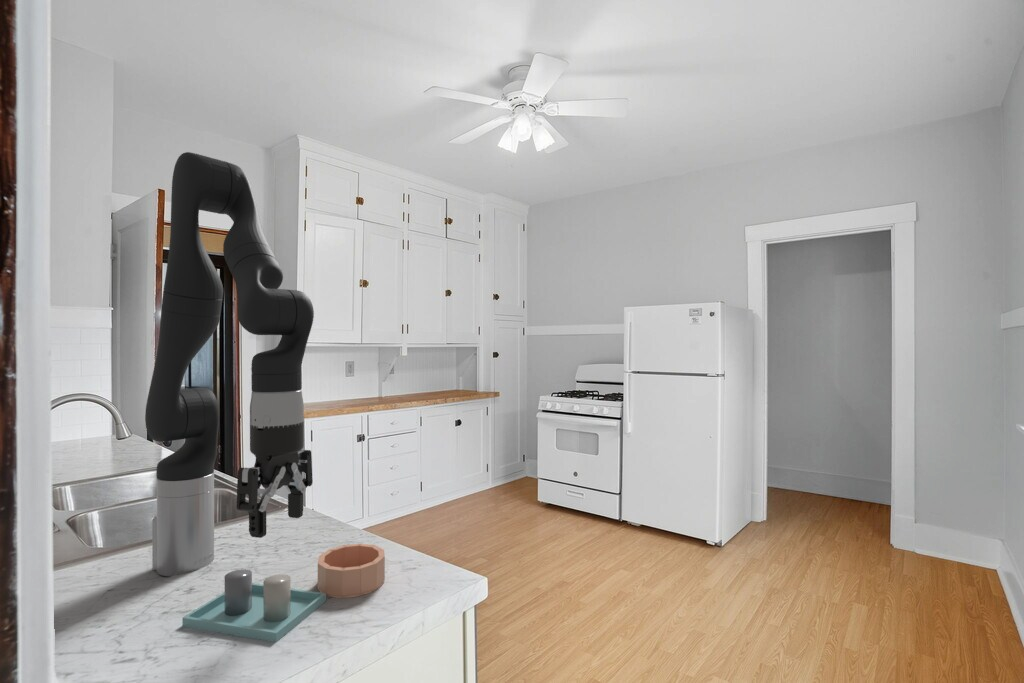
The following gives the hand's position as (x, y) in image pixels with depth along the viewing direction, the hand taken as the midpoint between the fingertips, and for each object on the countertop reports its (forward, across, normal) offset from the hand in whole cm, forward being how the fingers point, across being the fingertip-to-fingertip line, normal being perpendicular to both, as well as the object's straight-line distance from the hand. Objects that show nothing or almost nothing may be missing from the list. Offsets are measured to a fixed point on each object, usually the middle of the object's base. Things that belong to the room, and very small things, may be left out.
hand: (277, 526), depth 83 cm
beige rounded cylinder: (+14, 0, 0) cm, 14 cm away
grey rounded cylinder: (+14, 0, -7) cm, 15 cm away
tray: (+14, 0, -4) cm, 15 cm away
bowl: (+14, -13, +5) cm, 20 cm away
